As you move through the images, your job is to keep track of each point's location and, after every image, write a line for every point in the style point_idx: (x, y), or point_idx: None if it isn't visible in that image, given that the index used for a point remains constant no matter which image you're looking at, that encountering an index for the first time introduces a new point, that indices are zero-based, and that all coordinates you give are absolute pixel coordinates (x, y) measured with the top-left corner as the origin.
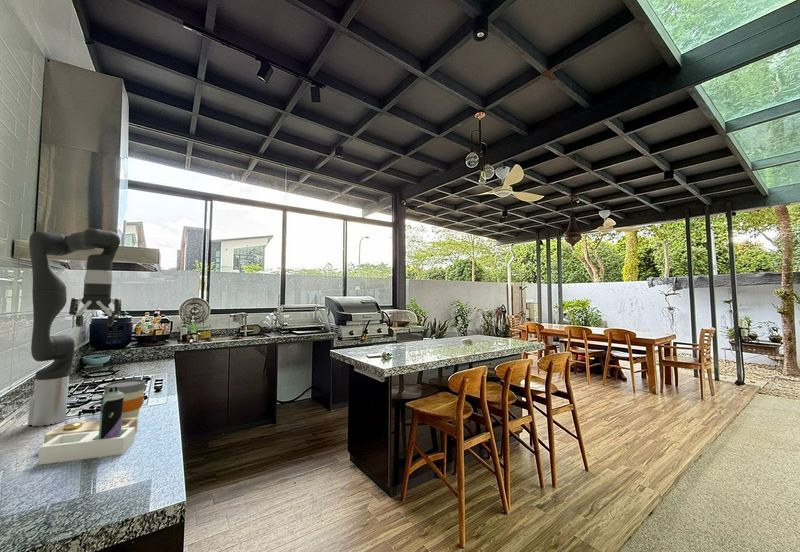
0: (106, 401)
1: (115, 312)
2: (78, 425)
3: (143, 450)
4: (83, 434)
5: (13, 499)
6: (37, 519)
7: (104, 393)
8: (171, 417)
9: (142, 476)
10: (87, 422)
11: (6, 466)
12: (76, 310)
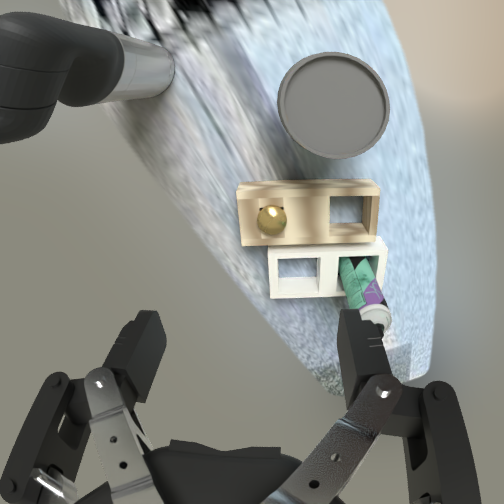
0: None
1: (410, 435)
2: (284, 227)
3: (398, 273)
4: (309, 256)
5: (297, 350)
6: (335, 377)
7: (287, 132)
8: (415, 111)
9: (403, 337)
10: (285, 192)
11: (229, 274)
12: (62, 409)
